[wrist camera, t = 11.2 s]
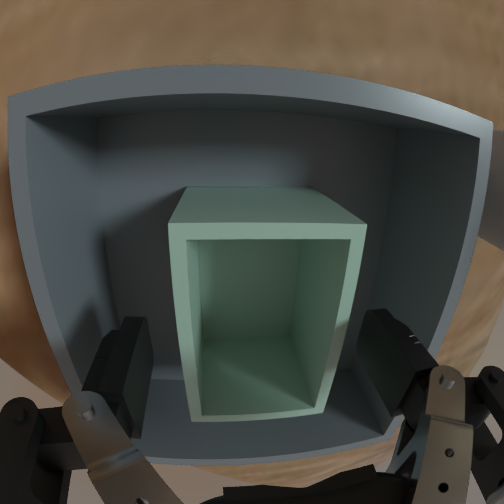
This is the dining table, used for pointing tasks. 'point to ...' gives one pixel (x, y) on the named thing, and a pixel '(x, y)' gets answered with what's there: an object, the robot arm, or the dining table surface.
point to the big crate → (249, 174)
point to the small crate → (261, 297)
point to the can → (494, 195)
